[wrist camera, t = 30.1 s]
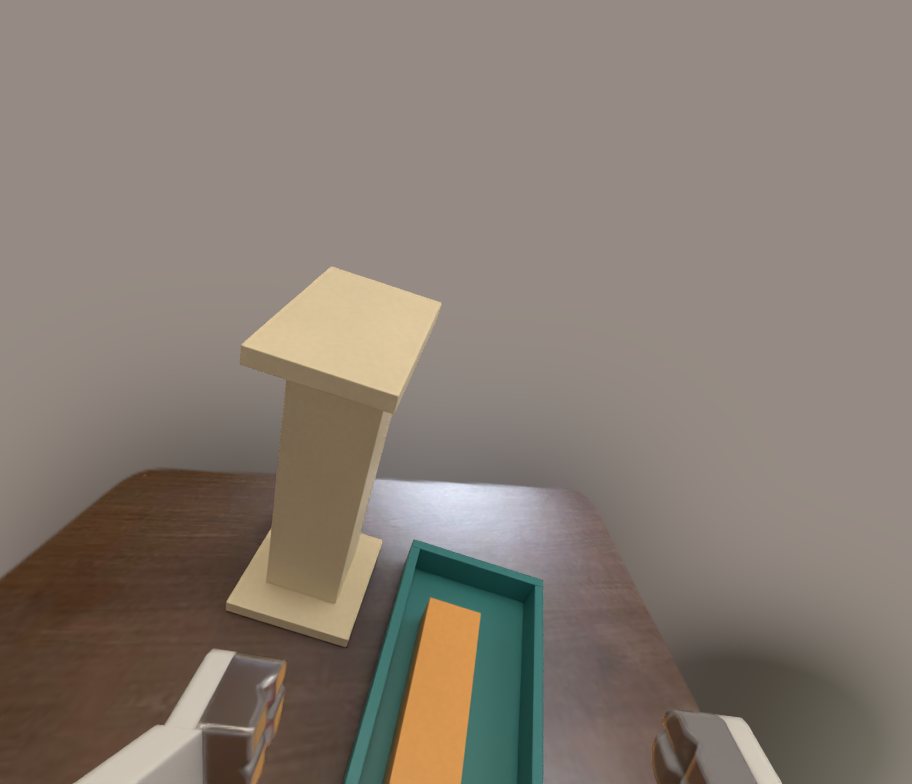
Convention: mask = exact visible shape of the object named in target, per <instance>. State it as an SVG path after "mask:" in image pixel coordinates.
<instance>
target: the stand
mask: <svg viewBox="0 0 912 784" xmlns="http://www.w3.org/2000/svg"><path fill="white" fill-rule="evenodd" d="M441 304H442V303H440V302H437V301H434V300H431V299H428V298H425V297H422V296H419V295H416V294H413V293H410V292H407V291H404V290H401V289H398V288H395V287H392V286H389V285H386V284H383V283H380V282H377V281H374V280H371V279H368V278H365V277H362V276H359V275H356V274H353V273H350V272H347V271H344V270H341V269H338V268H335V267H332V266H331V267H330V268H329V269H328V270H327V271H325V273H323V274H322V275H321V276H320V277H318V278H317V279H316V280H315V281H314V282H313V283H312V284H310V285H309V286H308V287H307V288H306V289H305V290H303V292H301V293H300V294H299V295H298V296H297V297H295V298H294V299H293V300H292V301H291V302H290V303H289V304H287V305H286V306H285V307H284V308H283V309H282V310H280V311H279V312H278V313H277V314H276V315H275V316H274V317H272V318H271V319H270V320H269V321H268V322H267V323H266V324H264V325H263V326H262V327H261V328H260V329H259V330H257V331H256V332H255V333H254V334H253V335H252V336H251V337H249V338H248V339H247V340H246V341H245V342H244V343H242V344H241V354H240V365H243V366H246V367H249V368H252V369H255V370H258V371H261V372H264V373H267V374H270V375H273V376H277V377H280V378H283V379H286V388H285V398H284V408H283V418H282V428H281V438H280V449H279V458H278V469H277V478H276V488H275V498H274V508H273V517H272V527H271V529H270V531H269V533H268V534H267V536H266V537H265V539H264V541H263V542H262V544H261V546H260V547H259V549H258V551H257V552H256V554H255V556H254V557H253V559H252V560H251V562H250V564H249V565H248V567H247V569H246V570H245V572H244V574H243V575H242V577H241V578H240V580H239V582H238V583H237V585H236V587H235V588H234V590H233V592H232V593H231V595H230V597H229V598H228V600H227V601H226V611H230V612H233V613H236V614H239V615H243V616H246V617H249V618H252V619H255V620H259V621H262V622H265V623H268V624H272V625H275V626H278V627H281V628H285V629H288V630H291V631H294V632H297V633H301V634H304V635H307V636H310V637H314V638H317V639H320V640H323V641H327V642H330V643H333V644H336V645H340V646H343V647H347V644H348V641H349V638H350V635H351V632H352V629H353V626H354V624H355V621H356V618H357V615H358V612H359V609H360V606H361V603H362V601H363V598H364V595H365V592H366V589H367V586H368V583H369V580H370V578H371V575H372V572H373V569H374V566H375V563H376V560H377V557H378V555H379V552H380V549H381V546H382V543H383V540H381V539H377V538H374V537H371V536H368V535H365V534H362V533H361V530H362V526H363V522H364V518H365V514H366V511H367V507H368V503H369V499H370V495H371V492H372V488H373V484H374V480H375V477H376V472H377V469H378V465H379V461H380V458H381V454H382V450H383V446H384V442H385V439H386V435H387V431H388V427H389V423H390V420H391V416H392V414H394V413H395V411H396V409H397V407H398V405H399V403H400V400H401V398H402V396H403V394H404V391H405V389H406V387H407V385H408V382H409V380H410V378H411V376H412V374H413V371H414V369H415V367H416V364H417V362H418V360H419V358H420V356H421V353H422V351H423V349H424V347H425V344H426V342H427V340H428V338H429V336H430V333H431V331H432V329H433V327H434V324H435V322H436V320H437V317H438V314H439V311H440V307H441Z"/></svg>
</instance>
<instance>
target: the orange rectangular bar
mask: <svg viewBox="0 0 912 784" xmlns="http://www.w3.org/2000/svg"><path fill="white" fill-rule="evenodd" d="M480 616H481V613H478V612H475V611H472V610H469V609H466V608H462V607H459V606H456V605H453V604H450V603H447V602H443V601H440V600H437V599H434V598H430V599H429V601H428V603H427V606H426V608H425V610H424V612H423V615H422V617H421V619H420V622H419V627H418V631H417V635H416V640H415V644H414V648H413V653H412V657H411V662H410V666H409V670H408V675H407V679H406V683H405V688H404V692H403V696H402V701H401V705H400V710H399V714H398V718H397V723H396V727H395V731H394V736H393V740H392V745H391V749H390V753H389V758H388V762H387V766H386V771H385V775H384V779H383V784H461V779H462V770H463V762H464V753H465V745H466V736H467V727H468V719H469V710H470V702H471V693H472V685H473V676H474V668H475V659H476V651H477V642H478V634H479V625H480Z"/></svg>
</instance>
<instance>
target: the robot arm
mask: <svg viewBox="0 0 912 784" xmlns="http://www.w3.org/2000/svg"><path fill="white" fill-rule="evenodd" d="M286 667H287V660H284V659H278V658H272V657H266V656H259V655H253V654H247V653H241V652H233V651H226V650H219V649H212V650H211V651H210V652H209V653H208V654H207V655H206V656H205V658H204V660H203V661H202V663H201V665H200V666H199V668H198V670H197V671H196V673H195V675H194V676H193V678H192V680H191V681H190V683H189V685H188V686H187V688H186V690H185V691H184V693H183V695H182V696H181V698H180V700H179V702H178V703H177V705H176V707H175V708H174V710H173V712H172V713H171V715H170V717H169V718H168V720H167V722H166V723H165V725H155V726H154V727H152V728H151V729H150V730H148V731H147V732H145V733H144V734H143V735H141V736H140V737H138V738H137V739H136V740H134V741H133V742H131V743H130V744H129V745H127V746H126V747H124V748H123V749H122V750H120V751H119V752H117V753H116V754H114V755H113V756H112V757H110V758H109V759H107V760H106V761H105V762H103V763H102V764H100V765H99V766H98V767H96V768H95V769H93V770H92V771H91V772H89V773H88V774H86V775H85V776H84V777H82V778H81V779H79V780H78V781H76V782H75V783H74V784H257V783H258V780H259V778H260V775H261V772H262V770H263V767H264V758H265V748H266V747H267V746H268V745H269V744H270V743H272V742H273V739H274V737H275V734H276V731H277V728H278V725H279V721H280V718H281V714H282V710H283V705H284V699H285V687H284V686H283V685H282V682H283V680H284V677H285V675H286ZM663 724H664V726H665V729H666V730H664V731H663V732H661V733H660V734H658V735H657V736H656V738H655V741H654V744H653V746H652V766H653V771H654V776H655V779H656V782H657V784H782V783H781V781H780V780H779V778H778V776H777V774H776V773H775V771H774V769H773V768H772V766H771V764H770V762H769V761H768V759H767V757H766V755H765V754H764V752H763V750H762V748H761V747H760V745H759V743H758V742H757V740H756V738H755V736H754V735H753V733H752V731H751V729H750V728H749V726H748V724H747V723H746V722H745V721H744V720H743V719H742V718H738V717H730V716H722V715H715V714H711V713H702V712H693V711H684V710H676V709H671V710H669V711H668V712H666V714H665V716H664V719H663Z"/></svg>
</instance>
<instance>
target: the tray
mask: <svg viewBox="0 0 912 784" xmlns="http://www.w3.org/2000/svg"><path fill="white" fill-rule="evenodd" d="M430 598H434V599H437V600H440V601H443V602H447V603H450V604H453V605H456V606H459V607H462V608H466V609H469V610H472V611H475V612H478V613H481V616H480V625H479V634H478V642H477V651H476V659H475V668H474V676H473V685H472V693H471V702H470V710H469V719H468V727H467V736H466V745H465V753H464V762H463V770H462V779H461V784H543V580H541V579H537V578H534V577H531V576H528V575H525V574H522V573H518V572H515V571H512V570H509V569H506V568H503V567H500V566H496V565H493V564H490V563H487V562H484V561H481V560H477V559H474V558H471V557H468V556H465V555H462V554H459V553H455V552H452V551H449V550H446V549H443V548H440V547H436V546H433V545H430V544H427V543H424V542H421V541H418V540H413V543H412V545H411V548H410V551H409V554H408V556H407V559H406V562H405V565H404V569H403V572H402V576H401V579H400V583H399V586H398V590H397V593H396V597H395V600H394V604H393V607H392V611H391V614H390V618H389V621H388V625H387V628H386V632H385V635H384V639H383V642H382V646H381V649H380V653H379V656H378V660H377V663H376V667H375V670H374V674H373V677H372V680H371V684H370V687H369V691H368V694H367V698H366V701H365V705H364V708H363V712H362V715H361V719H360V722H359V726H358V729H357V733H356V736H355V740H354V743H353V747H352V750H351V754H350V757H349V761H348V764H347V768H346V771H345V775H344V778H343V782H342V784H383V779H384V775H385V771H386V766H387V762H388V758H389V753H390V749H391V745H392V740H393V736H394V731H395V727H396V723H397V718H398V714H399V710H400V705H401V701H402V696H403V692H404V688H405V683H406V679H407V675H408V670H409V666H410V662H411V657H412V653H413V648H414V644H415V640H416V635H417V631H418V627H419V622H420V619H421V617H422V615H423V612H424V610H425V608H426V606H427V603H428V601H429V599H430Z"/></svg>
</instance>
